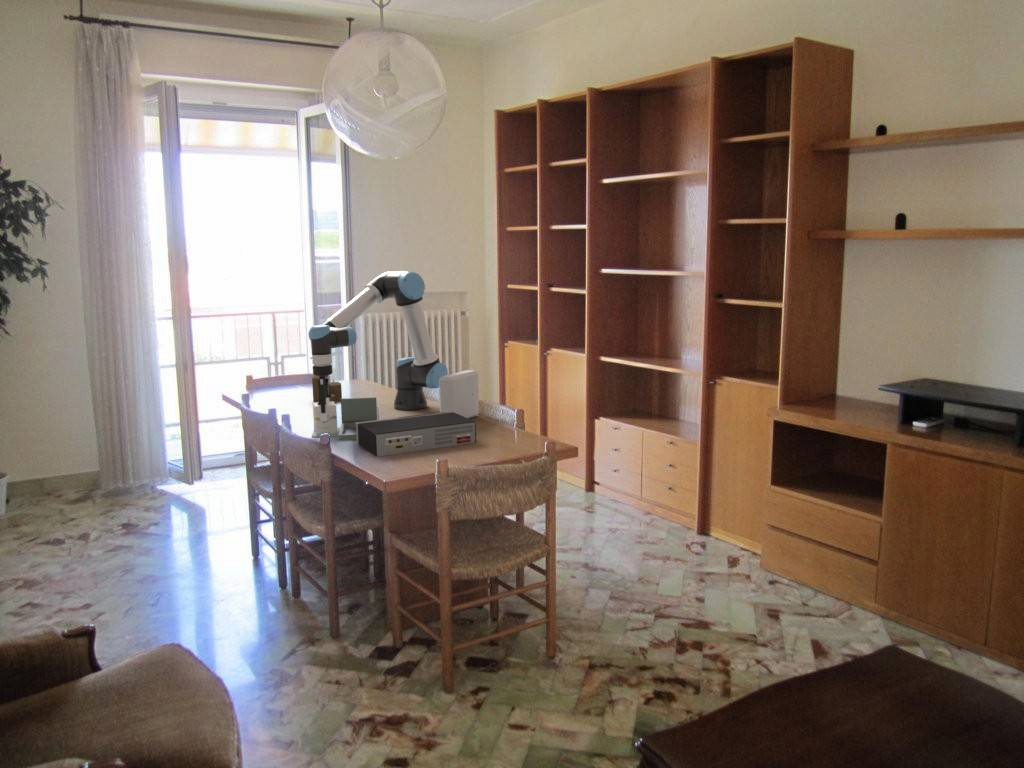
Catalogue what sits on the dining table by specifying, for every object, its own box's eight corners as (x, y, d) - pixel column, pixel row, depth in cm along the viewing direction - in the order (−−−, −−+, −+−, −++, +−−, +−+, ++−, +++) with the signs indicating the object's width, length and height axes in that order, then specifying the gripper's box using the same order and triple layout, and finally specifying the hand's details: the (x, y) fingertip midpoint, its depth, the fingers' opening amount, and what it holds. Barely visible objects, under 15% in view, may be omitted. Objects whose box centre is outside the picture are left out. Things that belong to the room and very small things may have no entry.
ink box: (313, 430, 336) (312, 402, 334) (334, 428, 339) (333, 400, 337) (316, 435, 328) (314, 406, 326) (338, 433, 331) (336, 404, 329)
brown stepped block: (306, 403, 396) (304, 372, 393) (320, 398, 409) (318, 368, 406) (331, 404, 392) (330, 373, 390) (345, 399, 405) (343, 368, 402)
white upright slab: (464, 414, 367) (463, 369, 364) (480, 415, 363) (479, 370, 360) (436, 423, 350) (435, 376, 346) (452, 425, 346) (451, 377, 342)
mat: (339, 429, 340) (339, 428, 340) (337, 436, 329) (337, 434, 328) (314, 430, 339) (314, 429, 339) (311, 437, 327) (311, 436, 327)
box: (375, 457, 298) (374, 433, 296) (354, 443, 319) (352, 420, 318) (476, 443, 317) (475, 421, 315) (449, 430, 338) (448, 409, 337)
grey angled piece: (380, 425, 347) (378, 397, 345) (378, 438, 324) (377, 408, 322) (342, 426, 345) (340, 398, 343) (338, 440, 322) (336, 410, 320)
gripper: (315, 360, 341) (318, 411, 344) (309, 370, 316) (312, 424, 320) (334, 359, 342) (337, 410, 345) (329, 369, 317) (332, 423, 321)
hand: (325, 417), depth 333 cm, fingers open, 13 cm apart
